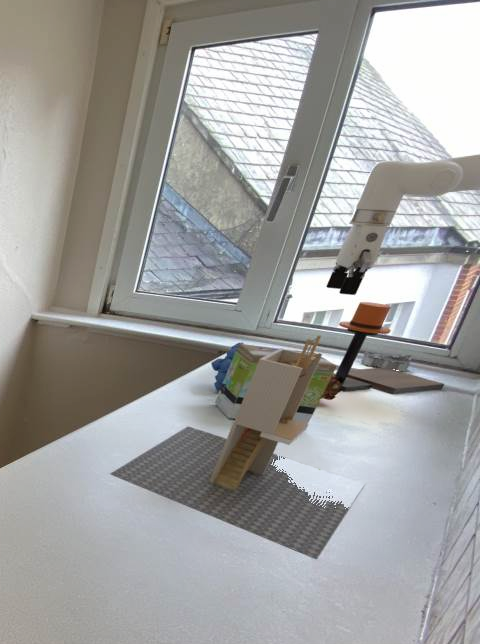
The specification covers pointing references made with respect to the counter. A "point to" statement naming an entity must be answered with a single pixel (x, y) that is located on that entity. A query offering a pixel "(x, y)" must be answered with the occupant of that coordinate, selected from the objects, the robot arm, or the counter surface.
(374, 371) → the board
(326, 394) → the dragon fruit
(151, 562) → the counter surface
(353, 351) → the hat stand
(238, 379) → the tea box
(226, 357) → the grapes
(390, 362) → the egg carton
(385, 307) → the hat
